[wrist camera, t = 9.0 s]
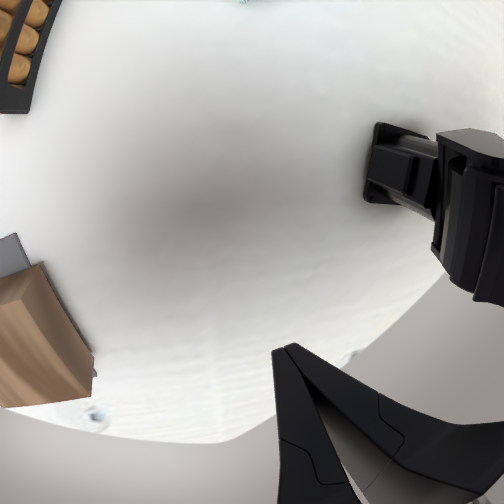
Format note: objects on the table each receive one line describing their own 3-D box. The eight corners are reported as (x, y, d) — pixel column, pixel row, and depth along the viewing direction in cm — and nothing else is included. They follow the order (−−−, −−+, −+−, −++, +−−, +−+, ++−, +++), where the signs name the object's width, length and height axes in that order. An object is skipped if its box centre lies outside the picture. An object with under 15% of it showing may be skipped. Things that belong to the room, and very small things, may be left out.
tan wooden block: (20, 298, 12) (-64, 328, 10) (91, 396, 17) (2, 408, 15) (40, 262, 16) (-42, 295, 14) (94, 355, 21) (12, 372, 19)
